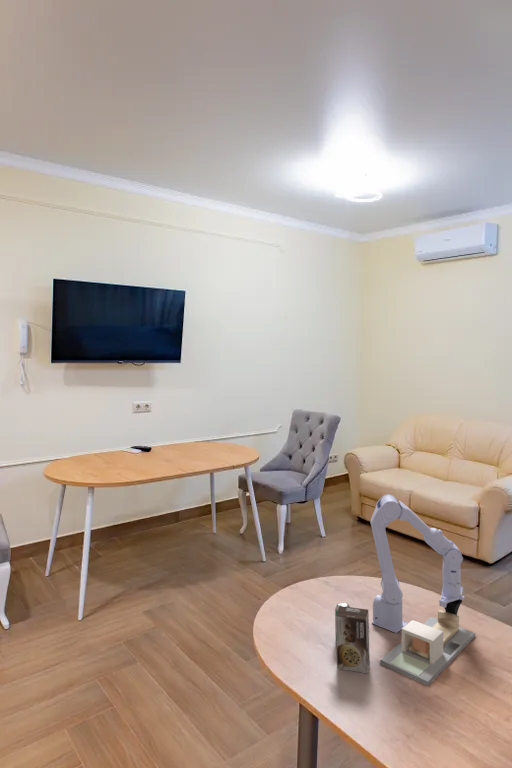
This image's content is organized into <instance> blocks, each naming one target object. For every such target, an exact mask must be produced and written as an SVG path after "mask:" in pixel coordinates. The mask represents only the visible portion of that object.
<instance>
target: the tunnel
mask: <svg viewBox="0 0 512 768" xmlns="http://www.w3.org/2000/svg"><path fill="white" fill-rule="evenodd" d="M407 623H408V624H407V625H405V626H404V627H403V628H402V629H401V642H402V651H403V652H406V651H407V650H408V649H409V647H410V646H411V645H412V644H413V637H416V638H418V639H421V640H423V641H426V642H428V643H430V663H431V664H434V663H435V662H436V661H437V660H438V659H439V658H440V657H441V656H442V655H443V631H441V630H438V629H435V628H433V627H430V626H427V625H425V624H423V623H422V622H419V621H416V620H413V619H412V620H410V621H409V622H407Z"/></svg>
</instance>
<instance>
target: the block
mask: <svg viewBox="0 0 512 768" xmlns="http://www.w3.org/2000/svg"><path fill="white" fill-rule="evenodd" d="M413 648H414V649H416V650H419V651H421V652H424V653H427V652H428V651H429V650H430V643H428V642H426V641H423V640H421V639H418V638H416V637H413Z"/></svg>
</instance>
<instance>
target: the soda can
mask: <svg viewBox="0 0 512 768" xmlns="http://www.w3.org/2000/svg"><path fill="white" fill-rule="evenodd" d="M339 606H344V607H351V606H350V604H348V603H345V602H339V603H336V606H335V608H334V611H335V613H334V616H335V619H334V622H335V623H334V624H335V625H334V626H335V627H334V629H335V630H334V631H335V642H336V643H337V636H336V614H337V611H338V609H339Z"/></svg>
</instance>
